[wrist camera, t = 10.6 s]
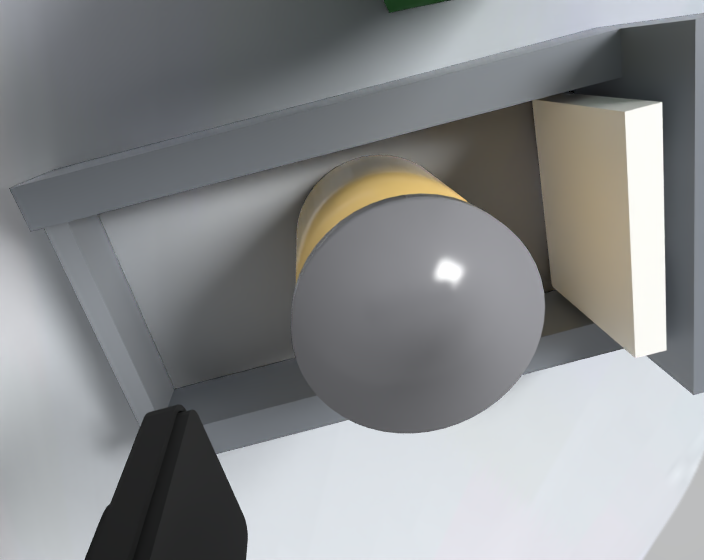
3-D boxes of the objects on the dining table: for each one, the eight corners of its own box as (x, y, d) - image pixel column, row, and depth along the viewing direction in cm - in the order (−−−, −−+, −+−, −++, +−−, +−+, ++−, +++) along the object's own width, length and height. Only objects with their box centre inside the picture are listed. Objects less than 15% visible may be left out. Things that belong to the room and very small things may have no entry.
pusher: (532, 99, 20) (624, 111, 14) (748, 42, 19) (928, 32, 14) (551, 286, 22) (635, 358, 17) (741, 237, 22) (887, 293, 17)
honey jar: (271, 179, 20) (256, 243, 13) (442, 131, 20) (527, 167, 13) (319, 331, 23) (330, 459, 15) (472, 288, 22) (557, 397, 15)
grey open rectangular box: (54, 169, 19) (-58, 216, 13) (597, 27, 19) (735, 8, 13) (168, 420, 23) (122, 542, 17) (614, 304, 23) (723, 387, 17)
